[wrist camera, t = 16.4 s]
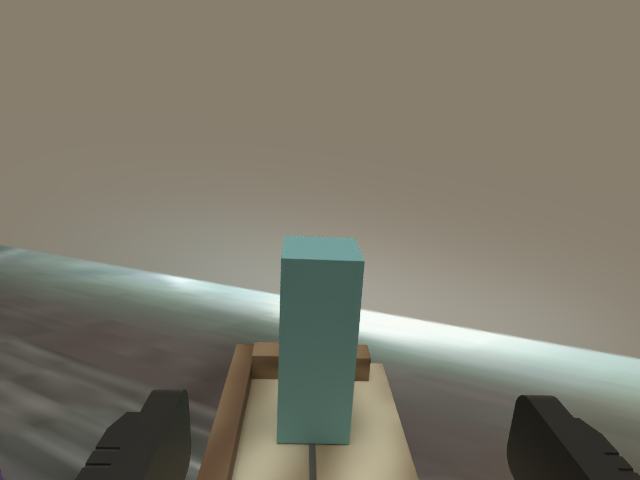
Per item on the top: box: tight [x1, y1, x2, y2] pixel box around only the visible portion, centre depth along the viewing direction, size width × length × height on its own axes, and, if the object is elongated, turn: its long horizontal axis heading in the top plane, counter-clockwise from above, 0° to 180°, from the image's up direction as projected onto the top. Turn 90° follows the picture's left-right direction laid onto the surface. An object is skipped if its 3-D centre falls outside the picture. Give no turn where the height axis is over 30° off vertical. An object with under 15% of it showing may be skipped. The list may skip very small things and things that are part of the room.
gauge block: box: [277, 236, 364, 444], centre depth 27 cm, size 4×4×12 cm
